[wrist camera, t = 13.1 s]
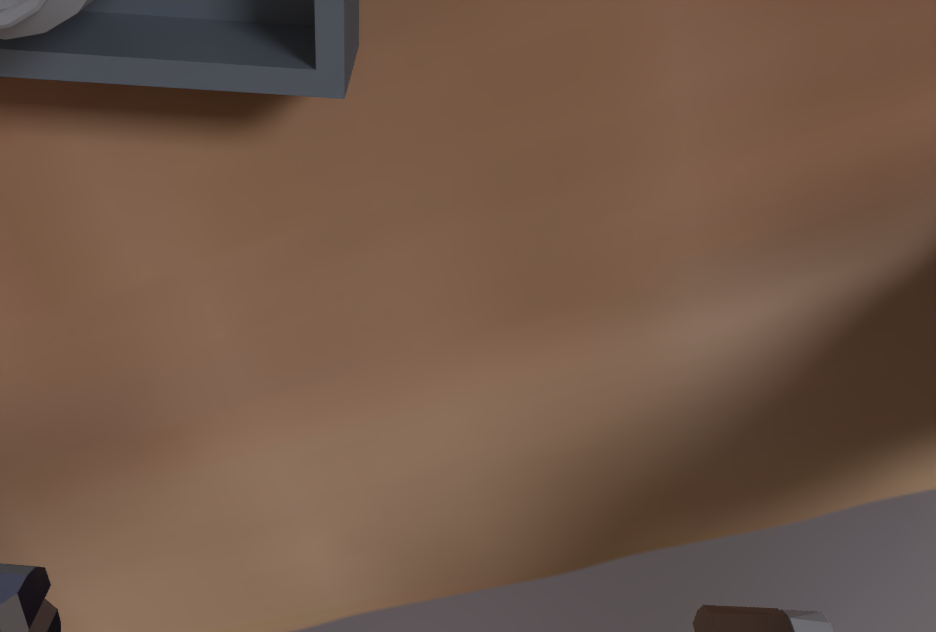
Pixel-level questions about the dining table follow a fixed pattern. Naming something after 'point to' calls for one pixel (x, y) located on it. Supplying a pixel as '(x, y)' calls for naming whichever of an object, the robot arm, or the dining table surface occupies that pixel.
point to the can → (35, 15)
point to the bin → (198, 46)
